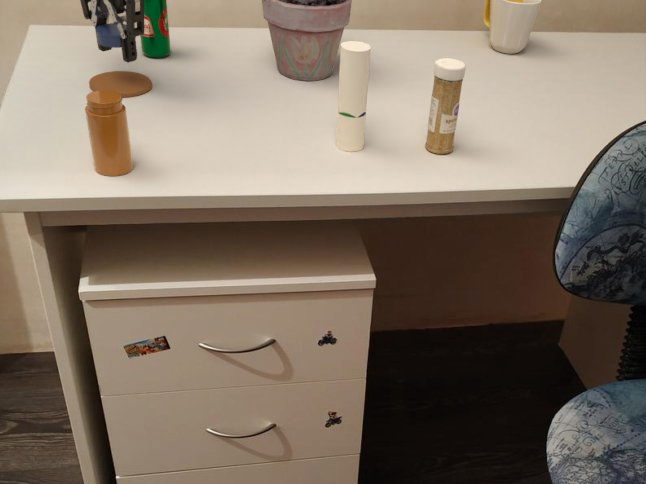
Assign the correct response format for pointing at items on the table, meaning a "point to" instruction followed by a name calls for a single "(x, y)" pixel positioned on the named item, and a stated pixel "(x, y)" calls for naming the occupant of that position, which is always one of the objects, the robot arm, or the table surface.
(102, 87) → the coaster
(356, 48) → the tube
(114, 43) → the jar lid
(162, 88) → the table surface
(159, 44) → the soda can
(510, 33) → the mug
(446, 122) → the sprinkles bottle
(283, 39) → the potted plant
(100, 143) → the jar
